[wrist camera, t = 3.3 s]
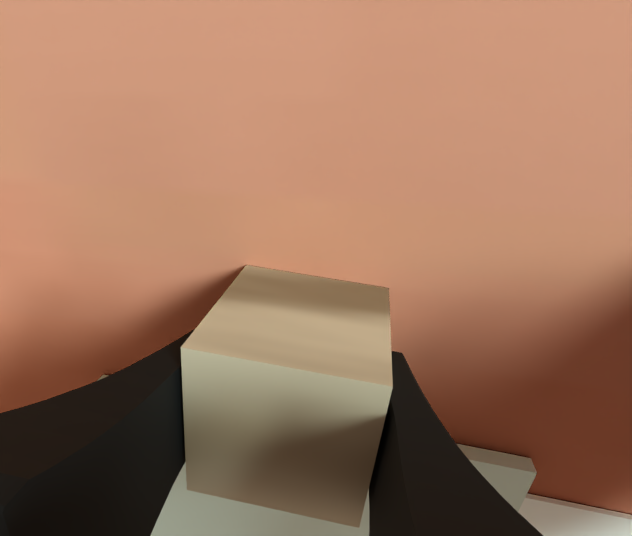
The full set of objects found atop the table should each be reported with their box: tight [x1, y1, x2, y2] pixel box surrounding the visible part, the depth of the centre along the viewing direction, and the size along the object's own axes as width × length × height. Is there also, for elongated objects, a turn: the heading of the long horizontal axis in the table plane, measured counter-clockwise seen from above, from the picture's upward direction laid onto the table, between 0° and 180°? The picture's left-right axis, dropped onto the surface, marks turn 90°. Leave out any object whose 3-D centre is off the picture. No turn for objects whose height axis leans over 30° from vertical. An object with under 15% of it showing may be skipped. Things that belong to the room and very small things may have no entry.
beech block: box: [181, 265, 393, 528], centre depth 11 cm, size 4×4×4 cm
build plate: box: [97, 374, 537, 536], centre depth 17 cm, size 11×16×1 cm
